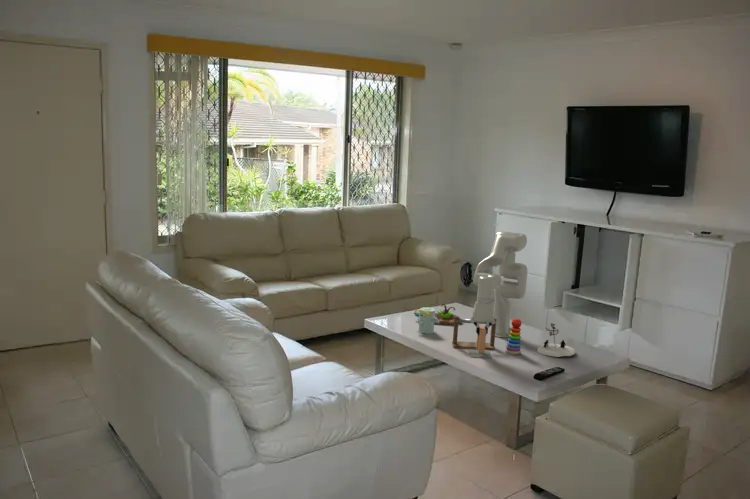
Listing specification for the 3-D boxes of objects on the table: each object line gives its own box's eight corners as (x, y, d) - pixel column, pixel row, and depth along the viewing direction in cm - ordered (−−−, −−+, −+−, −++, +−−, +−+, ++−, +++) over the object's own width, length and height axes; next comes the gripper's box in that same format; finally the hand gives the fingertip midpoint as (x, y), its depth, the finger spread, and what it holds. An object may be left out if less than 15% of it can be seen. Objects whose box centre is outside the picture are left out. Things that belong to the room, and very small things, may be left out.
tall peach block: (482, 347, 334) (484, 325, 332) (484, 353, 326) (486, 330, 324) (476, 347, 334) (478, 325, 332) (478, 352, 326) (480, 330, 324)
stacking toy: (511, 356, 330) (515, 321, 327) (502, 351, 337) (505, 317, 334) (523, 354, 333) (527, 319, 330) (513, 349, 340) (516, 315, 337)
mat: (489, 351, 336) (489, 350, 336) (492, 358, 325) (492, 357, 325) (468, 350, 336) (468, 349, 336) (470, 357, 325) (470, 356, 325)
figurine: (578, 349, 343) (578, 320, 340) (571, 359, 327) (570, 328, 325) (541, 346, 352) (541, 317, 350) (532, 355, 337) (531, 325, 335)
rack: (492, 345, 346) (494, 316, 343) (494, 350, 338) (497, 320, 335) (452, 343, 346) (454, 314, 344) (453, 347, 338) (455, 318, 336)
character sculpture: (405, 329, 368) (406, 306, 365) (418, 326, 375) (420, 304, 373) (430, 338, 353) (432, 314, 351) (444, 334, 361) (445, 311, 359)
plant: (425, 316, 398) (426, 299, 396) (456, 317, 400) (457, 299, 398) (432, 326, 378) (433, 307, 376) (464, 326, 380) (465, 308, 378)
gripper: (499, 299, 329) (496, 333, 332) (467, 297, 329) (464, 331, 332) (501, 302, 322) (498, 337, 325) (469, 301, 322) (466, 336, 325)
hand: (481, 334), depth 329 cm, fingers closed on tall peach block, 3 cm apart
